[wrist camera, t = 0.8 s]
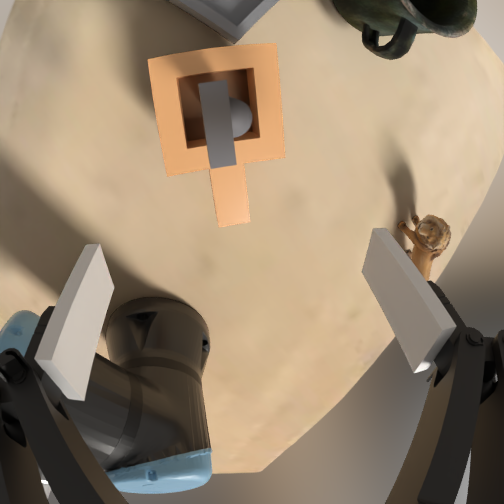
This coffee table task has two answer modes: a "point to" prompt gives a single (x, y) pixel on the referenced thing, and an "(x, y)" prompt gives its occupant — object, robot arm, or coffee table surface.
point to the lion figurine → (426, 241)
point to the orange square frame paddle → (246, 146)
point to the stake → (216, 112)
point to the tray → (227, 14)
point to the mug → (406, 21)
